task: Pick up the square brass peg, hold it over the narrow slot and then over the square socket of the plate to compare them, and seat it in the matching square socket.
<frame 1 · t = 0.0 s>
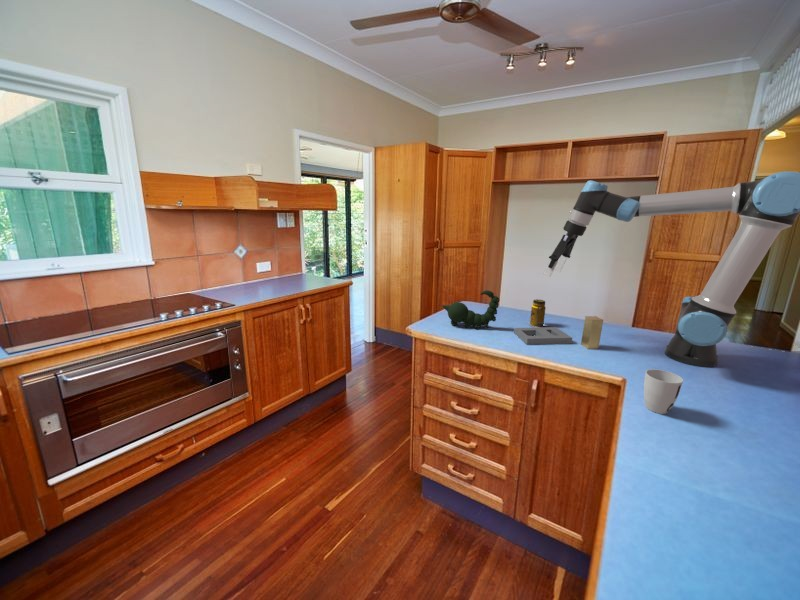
hand: (551, 272, 141), 28 cm above the worktop, tool tilted 20°, fingers open, 13 cm apart
brass peg: (589, 346, 139), on the worktop
socket plate: (541, 338, 147), on the worktop
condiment: (538, 325, 164), on the worktop
toy figurine: (468, 326, 161), on the worktop
cup: (656, 409, 96), on the worktop
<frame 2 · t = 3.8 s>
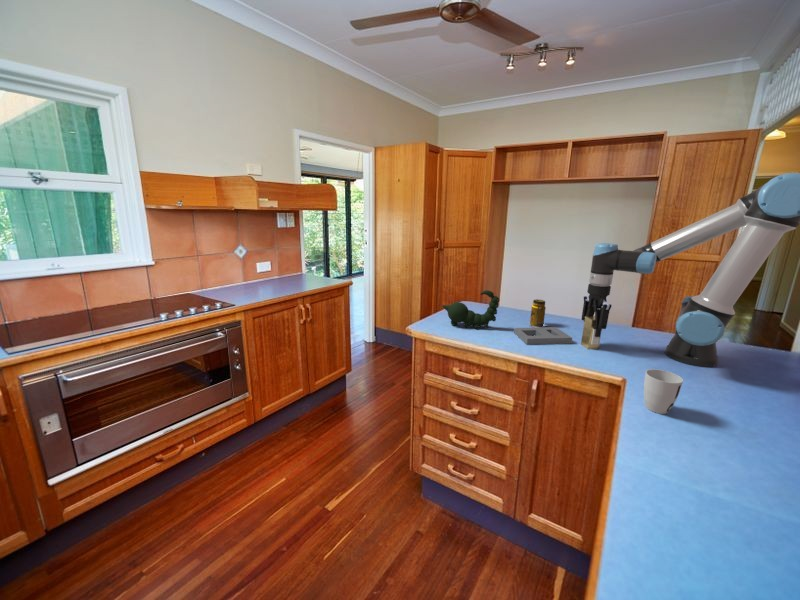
hand: (590, 341, 138), 2 cm above the worktop, tool pointing down, fingers closed on brass peg, 4 cm apart
brass peg: (589, 346, 139), on the worktop, touching gripper
everything else where it was.
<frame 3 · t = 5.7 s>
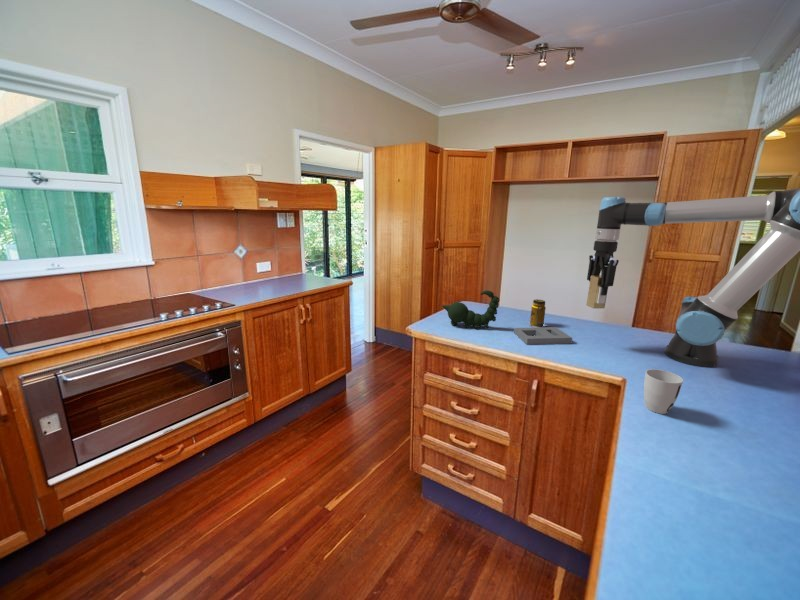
hand: (596, 301, 134), 19 cm above the worktop, tool pointing down, fingers closed on brass peg, 4 cm apart
brass peg: (595, 306, 135), point 16 cm above the worktop, touching gripper
everything else where it was.
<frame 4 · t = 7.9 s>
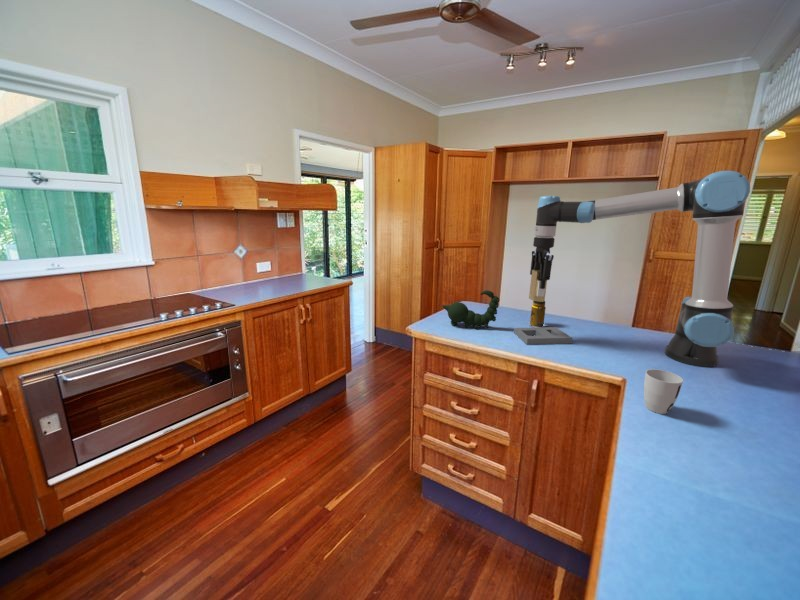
hand: (537, 294, 142), 19 cm above the worktop, tool pointing down, fingers closed on brass peg, 4 cm apart
brass peg: (536, 299, 142), point 17 cm above the worktop, touching gripper
everything else where it was.
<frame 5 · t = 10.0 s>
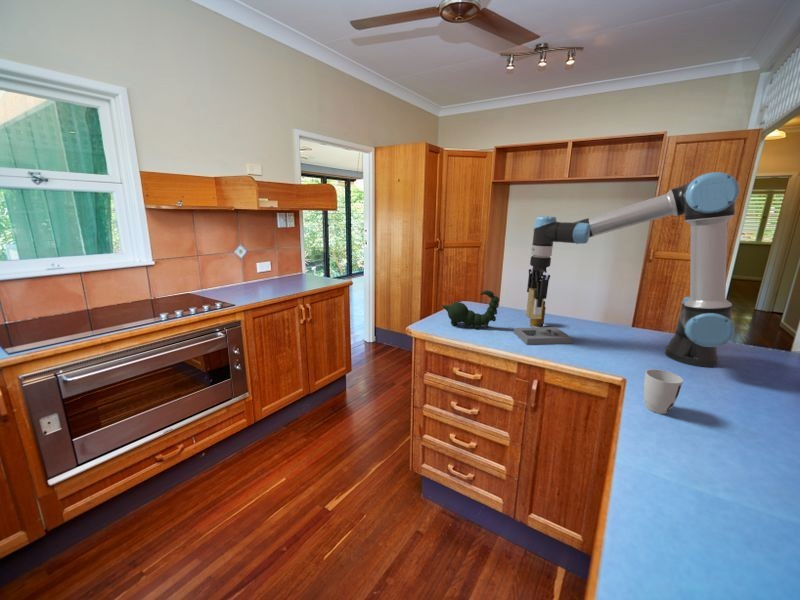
hand: (534, 312, 144), 12 cm above the worktop, tool pointing down, fingers closed on brass peg, 4 cm apart
brass peg: (533, 317, 144), point 9 cm above the worktop, touching gripper
everything else where it was.
when the fingers open (4 cm above the worktop, at t = 12.0 s): brass peg drops 2 cm, resting in socket plate.
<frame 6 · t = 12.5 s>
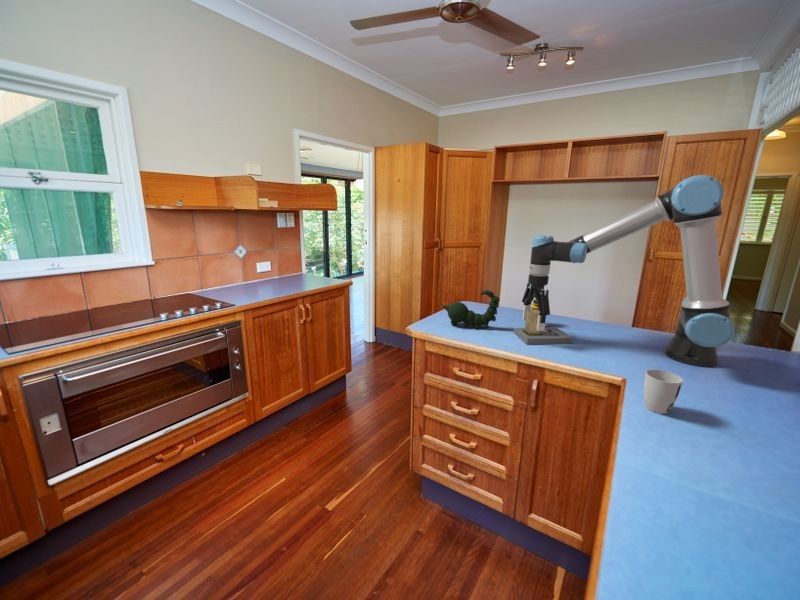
hand: (532, 324, 145), 6 cm above the worktop, tool pointing down, fingers open, 12 cm apart
brass peg: (531, 338, 147), resting in socket plate
everything else where it was.
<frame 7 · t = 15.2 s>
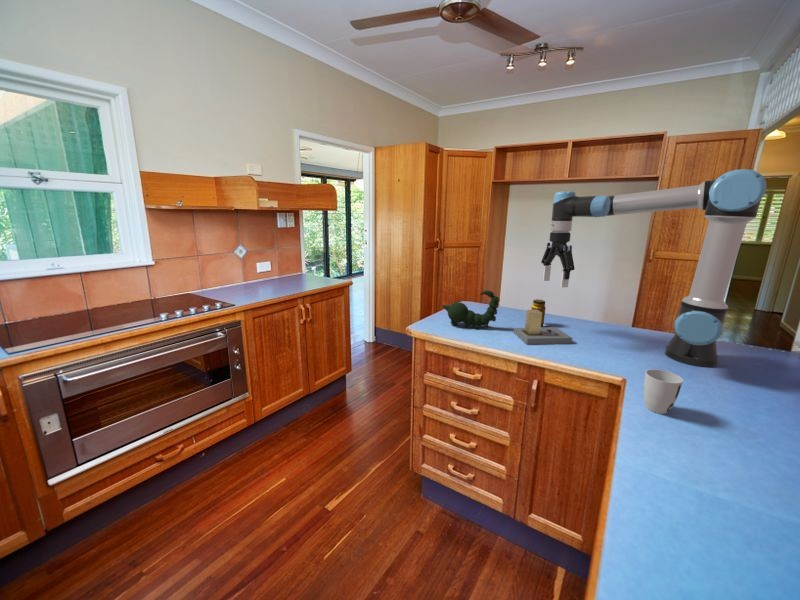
hand: (554, 283, 144), 23 cm above the worktop, tool pointing down, fingers open, 13 cm apart
nothing on the worktop moved.
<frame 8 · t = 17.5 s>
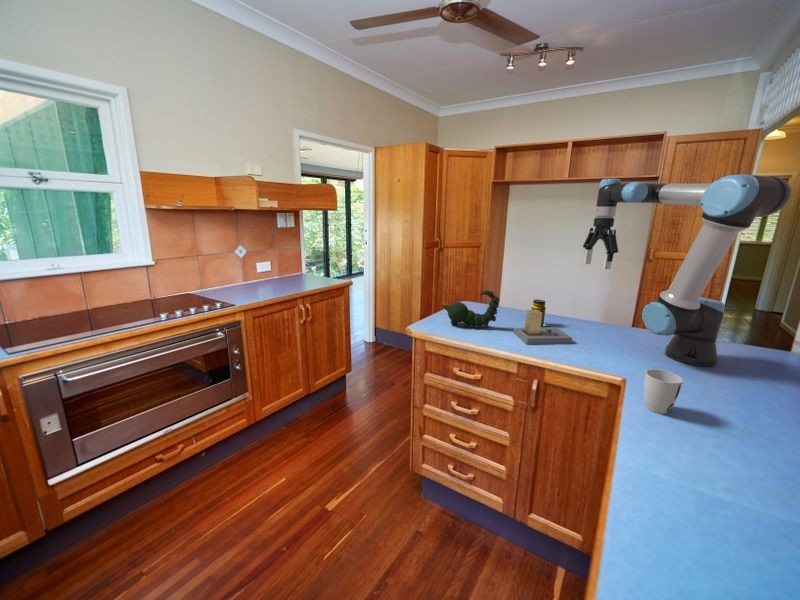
hand: (596, 266, 154), 29 cm above the worktop, tool pointing down, fingers open, 13 cm apart
nothing on the worktop moved.
at the end: brass peg 0.0 cm from the target spot on the socket plate, point 0.0 cm above the socket plate's base; brass peg tilted 0°; the gripper is holding nothing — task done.
